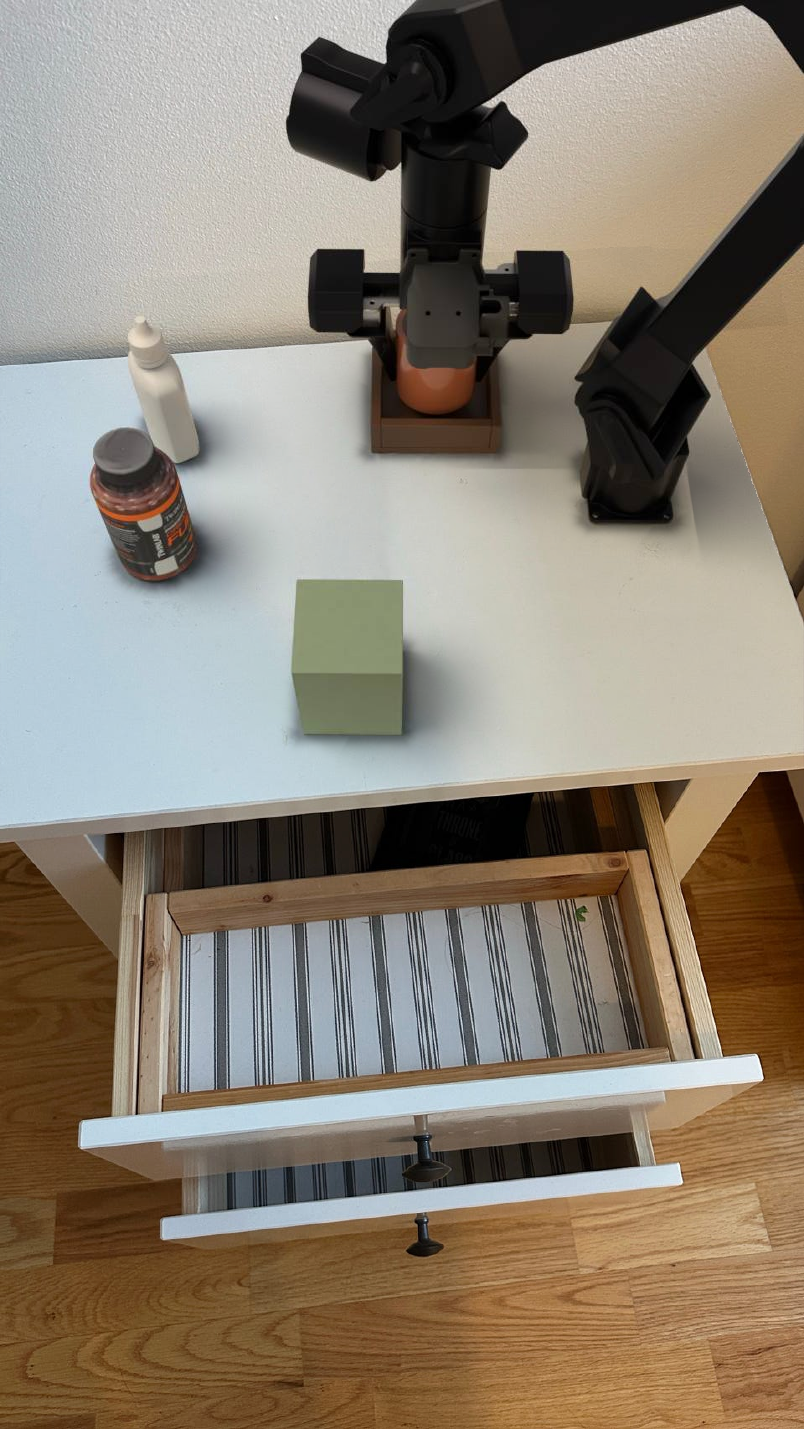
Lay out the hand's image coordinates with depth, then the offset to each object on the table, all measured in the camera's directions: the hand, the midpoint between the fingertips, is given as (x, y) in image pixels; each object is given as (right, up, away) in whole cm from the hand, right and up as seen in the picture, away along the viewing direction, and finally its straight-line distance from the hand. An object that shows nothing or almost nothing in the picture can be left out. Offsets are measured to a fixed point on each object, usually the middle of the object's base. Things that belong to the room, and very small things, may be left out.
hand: (435, 378), depth 78 cm
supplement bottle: (-21, -15, -4) cm, 26 cm away
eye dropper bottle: (-21, -5, +1) cm, 22 cm away
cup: (0, 0, +1) cm, 1 cm away
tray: (0, -1, +3) cm, 3 cm away
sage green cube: (-6, -25, -9) cm, 27 cm away
